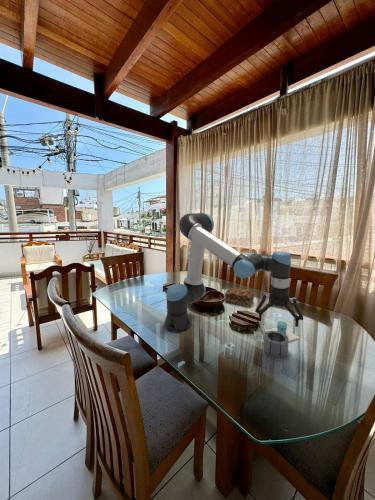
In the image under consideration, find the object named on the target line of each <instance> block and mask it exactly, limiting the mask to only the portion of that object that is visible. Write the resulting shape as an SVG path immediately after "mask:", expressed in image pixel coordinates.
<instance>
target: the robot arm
mask: <svg viewBox="0 0 375 500" xmlns="http://www.w3.org/2000/svg"><path fill="white" fill-rule="evenodd" d="M214 227H215V222H214V219H213V217H212V216H211V215H209V214H208V213H205V212H196V213H195V212H194V213H191V212H190V213H186V214H184V215H183V216H181V217H180V219H179V221H178V229H179V232H180V233H181V234H182V235H183V236H184V237H185V238H186V239H188V240H190V244H189V245H190V246H189V254H188V264H187V272H186V277H184V279H183V283H177V284H172V285H169V287H168V288H167V290H166V316H165V318H164V324H163V325H164V328H165V330H167V331H168V332H171V333H181V332H185V331H187V330H189V329H190V327H191V319H190V317H189V314H188V306H189V305H190V304H193V303H195V302H197V301H199V300H201V299H202V298H203V297H204V296H205V294H206V286H205V282H204V280H203V279H202V271H203V265H204V255H205V250H207V251H208V252H210V253H211V254H212V255H214V256H215V257H217V258H218V259H219V260H221V261H222V262H224V263H225V264H227V266H229V267H230V268H232V269H233V272H234V274H235V276H237V277H238V278H240V279H247V278H250V277H252V276H253V275H255V274H257V273H259V272H261V271H262V272H269V273H271V275H270V276H271V277H270V279H271V280H270V285H271V286H270V295H269V294H267V293H263V294H262V295H263V296H262V299H261V300H260V302H259V303H258V305H257V306H256V308H255V311H254V313H256V314H258V321H260V328H261V329H263V328H264V318H265V317H264V316H265V312H266V311H267V310H269V309H270V308H271V307H272V306H275V307H281V308H285V309H286V310H288V312H289V314H290V315H291V316H292V318H293V320H292V321H293V322H292V323H293V324H292V333H293V334H295V335H296V328H298V327H299V322H300V321H303V320H304V315H303V313H302V311H301V309H300V307H299V305H298V303H297V297H296V296H294V297H289V294H290V293H289V291H290V278H291V276H290V275H291V265H292V258H291V256H292V255H291V253H290V252H288V251H283V250H282V251H280V250H278V251H276V250H275V251H273V252H272V254H271V255H269V254H260V253H247V255H245V254H244V253H242V252H240V251H238V250H237V249H236V248H234V247H232V246H231V245H229V244H228V243H226V242H225V241H223V240H222V239H220V237H217V236H216V235H215V234H212V231H213V230H214ZM268 299H269V302H268V303H267V304H266V305H264V306H263V304H264V303H265V301H266V300H268ZM289 302H291V304H293V307H294V309H295V311H296V312H295V311H294V309H293V308H292V307H291V306H290V304H289ZM262 306H263V307H262Z"/></svg>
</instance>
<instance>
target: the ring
mask: <svg viewBox="0 0 375 500" xmlns="http://www.w3.org/2000/svg"><path fill="white" fill-rule="evenodd" d="M263 335H264V336H263V347H262V348H263V352H264V353H266V354H267V355H268V356H270V357H272V358H277V359H283V358H285V357H288V353H289V343H290V342H289V339H288V336H286V335H285V334H283V333H281V332H277V331H272V330H271V331H268V332H264V334H263Z"/></svg>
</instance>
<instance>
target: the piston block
mask: <svg viewBox="0 0 375 500" xmlns="http://www.w3.org/2000/svg"><path fill="white" fill-rule="evenodd" d="M287 326H288V323H287V322H285V321H284V320H283V321H281V320H279V321H277V325H276V327H273V328H268V329H265V330H264V333H265V332H268V331H271V330H272V331H277V332H281V333H283V334H285V335H286V336H288V339H289V343H290V342H294V341H297V340H300V337H299V336H297V335H296V333H295V334H293V331H292V332H291V331H290V330H288V327H287Z"/></svg>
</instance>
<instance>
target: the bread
mask: <svg viewBox="0 0 375 500" xmlns="http://www.w3.org/2000/svg"><path fill="white" fill-rule="evenodd" d="M254 297H255V295H254V291H252V290H249V289H243V288H233V287H230V288H228V289H227V290H226V291H225V293H224V302H225V304H230V305H231V304H232V305H236V306H241V307H245V308H251V307H252V305H253V303H254Z"/></svg>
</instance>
